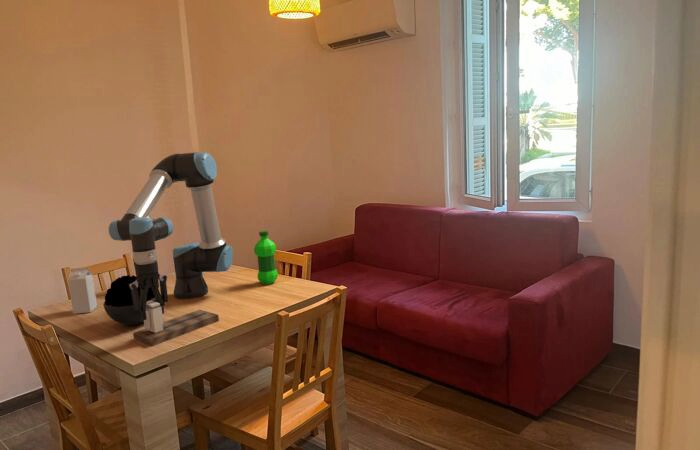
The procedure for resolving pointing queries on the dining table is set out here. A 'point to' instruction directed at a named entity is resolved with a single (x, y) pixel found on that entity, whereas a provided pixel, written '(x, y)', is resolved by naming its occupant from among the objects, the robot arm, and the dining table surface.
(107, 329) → the dining table surface
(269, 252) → the plastic bottle
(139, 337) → the dark brown wooden board
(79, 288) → the milk carton
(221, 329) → the dining table surface
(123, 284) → the coal bowl
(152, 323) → the fader tab
